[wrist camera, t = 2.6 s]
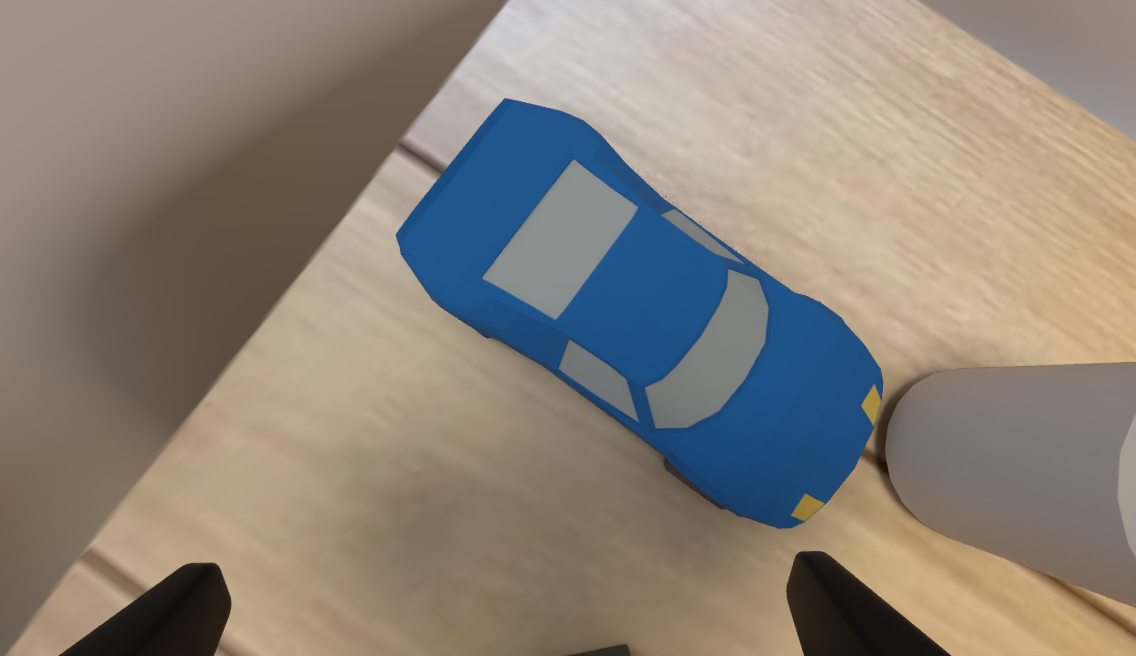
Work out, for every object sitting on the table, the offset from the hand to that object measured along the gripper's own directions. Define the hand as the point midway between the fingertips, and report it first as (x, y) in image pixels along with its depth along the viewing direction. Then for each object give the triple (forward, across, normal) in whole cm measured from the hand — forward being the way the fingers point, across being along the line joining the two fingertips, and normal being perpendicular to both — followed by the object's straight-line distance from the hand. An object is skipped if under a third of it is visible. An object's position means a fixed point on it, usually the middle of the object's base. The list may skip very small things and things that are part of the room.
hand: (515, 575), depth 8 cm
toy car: (+16, -5, +3) cm, 17 cm away
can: (+13, -19, +8) cm, 25 cm away
